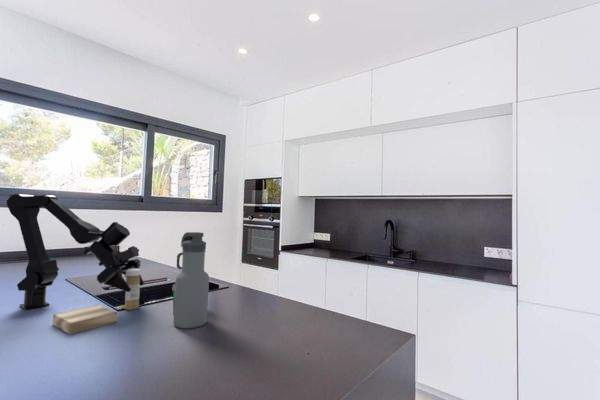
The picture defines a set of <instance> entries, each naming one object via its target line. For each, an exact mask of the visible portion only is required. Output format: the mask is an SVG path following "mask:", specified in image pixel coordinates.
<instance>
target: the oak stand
mask: <svg viewBox="0 0 600 400" xmlns="http://www.w3.org/2000/svg"><path fill="white" fill-rule="evenodd" d="M117 313H118V312H117V311H115V310H112V309H109V308H106V307H104V306H102V305H99V304H96V305H92V306H91V305H90V306H85V307H81V308H77V309H72V310H67V311H62V312H58V313H53V315H52V316H53V317H52V325H53V326H55V327H56V328H58V329H60V330H62V331H63V332H65V333H67V334H69V335H74V334H77V333H81V332H85V331H88V330H92V329H96V328H100V327H103V326H108V325H111V324H114V323H117V320H118V319H117V318H118V316H117V315H118V314H117Z"/></svg>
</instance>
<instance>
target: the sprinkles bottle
mask: <svg viewBox="0 0 600 400" xmlns="http://www.w3.org/2000/svg"><path fill="white" fill-rule="evenodd" d="M141 273H142V269H140V268H139V269H128V270H126V277H125V281H126V283H127V284H128V285H129V287H130V289H131V291H130V292H127V291H124V293H125V295H124V309H125V310H127V311H128V310H136V309H139V307H140V293H141V291H140V290H141V289H140V288H141V285H140V275H141ZM141 276H142V275H141Z"/></svg>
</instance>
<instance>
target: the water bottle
mask: <svg viewBox="0 0 600 400" xmlns="http://www.w3.org/2000/svg"><path fill="white" fill-rule="evenodd" d="M204 234H205V233H204V232H200V231H199V232H198V231H190V232H189V231H188V232H185V233H184V234H183V236H182V237H181V242H180V247H181V249H182V251H181V252H180V253H178V254H177V256H176V268H177V269H179V270H181V271H180V272H179V273H177V275H176V277H175V283H174V284H175V303H174V314H173V326H175V327H177V328H178V329H182V330H184V329H185V330H187V329H189V330H190V329H196V328H199V327H202V326H204V325H206V323H207V321H208V310H209V308H208V307H209V289H210V288H209V287H210V285H209V284H210V276H209V273H207V272H206V271H205V259H206V255H205V254H206V252H207V251H206V250H207V249H206V247H207V242H206V241H204V240H203V237H204ZM181 256H182V261H181V266H180V260H181Z"/></svg>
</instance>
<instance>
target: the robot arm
mask: <svg viewBox="0 0 600 400" xmlns="http://www.w3.org/2000/svg"><path fill="white" fill-rule="evenodd" d="M6 206H7V209H8V210H9V212H10V214H11V215H12V216H13V217H14V218H15V219H16V220H17V221H18V225H19V228H20V229H19V230H20V232H21V236H22V239H23V242H24V243H23V244H24V246H25V251H26V255H27V258H28V262H27V266H26V268H25V277H24V278H23V279H22V280H21V281H19V282H18V283H17V285H16V287H17V290H18V291H24V294H23V295H24V297H23V303H20V304H19V307H21V308H23V309H24V310H30V309H35V308H41V307H46V306H49V305H50V303H49V302H46V301H47V300H46V298H47V287H49V286H53V283H54V281H55V280H57V279H56V278H57V277H58V276H59V272H58V271H60V269H59V267H58V261H57V260H56V259H55V258H54V259H50V258H49V256H48V255H47V252H46V247H45V244H44V243H45V242H44V240H43V236H42V232H41V229H40V224H39V221H38V216H39V213H40V211H41V210H40V209H41V208H44V209H45V210H47V211H48V212H49V213H50V214H51V215H52V216H53V217H55V218H56V219H57V220H58V221H59V222H60V223H62V224H63V225H64V226H65V227H66V228H67V229H68V230H69V233H70V235H71V237H72V238H73V240H74V241H75V242H76V243H78V244H79V245H84V244H85V245H86V244H90V245H89V246H84V250H83V255H84V256H86V255H90V254H91V255H93V256H94V258H96V260H98V262H99V263H98V265H99V266H100V267H102V266H103V267H104V269H103V270H102V271H101V272H100V273H98V275H96V281H97V282H98V283H99V284H100V285H102V284H103V285H105V286H106V285H107V286H109V287H113V288H116V289H118V290H121V291H124V292H126V291H127V292H130V291H131V289H130V287H129V285H128V284H127V283H126V279H124V277H125V278H126V270H128V269H140V267H141V265H142V264H141V263H142V262H141V261H140V259H139V258H135V257H138V256H140V254H139V252H140V249H139V248H138V247H136V246H134V245H132V246H130V247H128V248H127V249H125V250H122V251H120V250H118V251H117V250H115V249H114V248H113V246H114V247H118V246H119V245H120V244H121V243H122V242H124V241H125V240H126V239H127V238H128V237H129V236H130V234H131V233H130V231H129V229H128V228H127V227H125V226H124V225H122V224H119V223H118V222H117V221H113V222H112V223H110V225H109V226H108V227H107V228H106V229H105V230H101V229H99V228H98V226H95V225H94V224H92V223H90V222H87V221H84V220H83V219H81V218H80V217H79V216H78V215H77V214H75V213H74V212H73V211H72V209H70V208H69V207H67V206H66V205H65V204H64V203H63V202H62V201H60V200H59V197H57V196H55V195H50V194H49V195H48V194H43V195H33V194H19V193H15V194H12V195H10V196H9V197H8V199H6ZM123 275H124V277H123ZM143 285H145V282H144V280H143V278H142V275H140V287H141V286H143Z"/></svg>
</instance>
